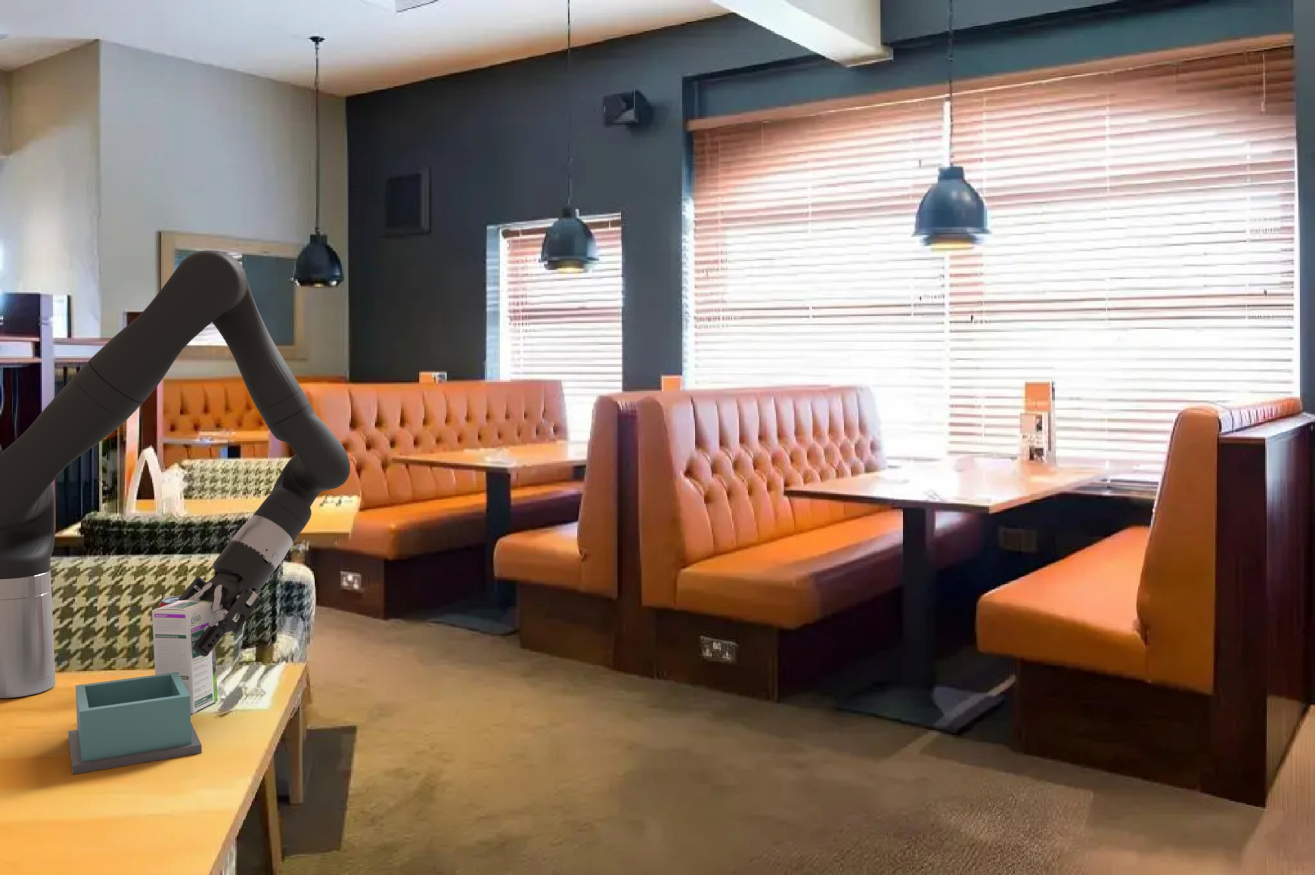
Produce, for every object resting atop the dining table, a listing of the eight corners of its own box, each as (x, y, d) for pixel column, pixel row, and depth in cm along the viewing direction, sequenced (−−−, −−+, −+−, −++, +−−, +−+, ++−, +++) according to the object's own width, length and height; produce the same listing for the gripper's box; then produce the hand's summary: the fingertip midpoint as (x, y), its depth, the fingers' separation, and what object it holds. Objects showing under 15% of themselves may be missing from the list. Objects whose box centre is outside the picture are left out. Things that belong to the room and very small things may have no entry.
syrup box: (193, 715, 149) (189, 609, 148) (154, 712, 150) (151, 607, 149) (218, 702, 155) (215, 600, 154) (180, 699, 156) (177, 598, 155)
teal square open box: (68, 738, 140) (66, 684, 139) (187, 720, 147) (185, 669, 146) (72, 774, 128) (70, 715, 127) (201, 752, 135) (199, 697, 134)
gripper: (209, 534, 162) (135, 625, 154) (265, 543, 153) (191, 641, 145) (242, 564, 166) (173, 654, 158) (299, 575, 158) (229, 671, 150)
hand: (182, 648), depth 152 cm, fingers open, 8 cm apart
